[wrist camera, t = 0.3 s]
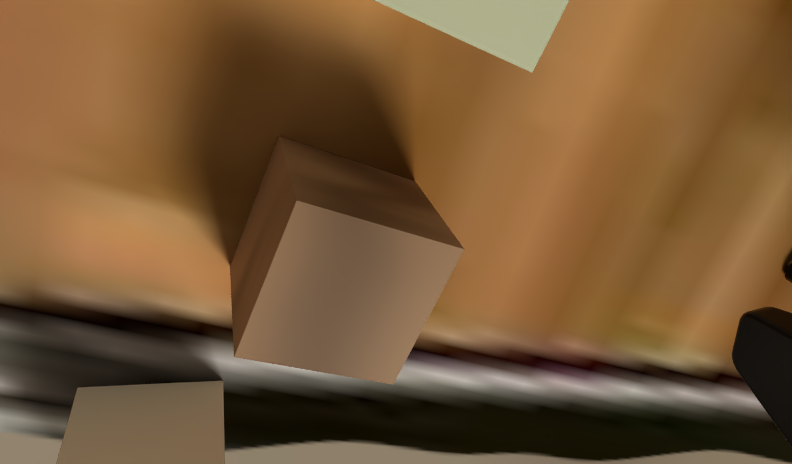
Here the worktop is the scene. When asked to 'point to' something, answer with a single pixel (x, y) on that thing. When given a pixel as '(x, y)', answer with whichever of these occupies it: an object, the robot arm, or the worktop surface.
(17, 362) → the worktop surface
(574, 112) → the worktop surface
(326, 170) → the walnut cube
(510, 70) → the worktop surface
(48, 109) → the worktop surface
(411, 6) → the sage base block
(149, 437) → the offwhite cube
